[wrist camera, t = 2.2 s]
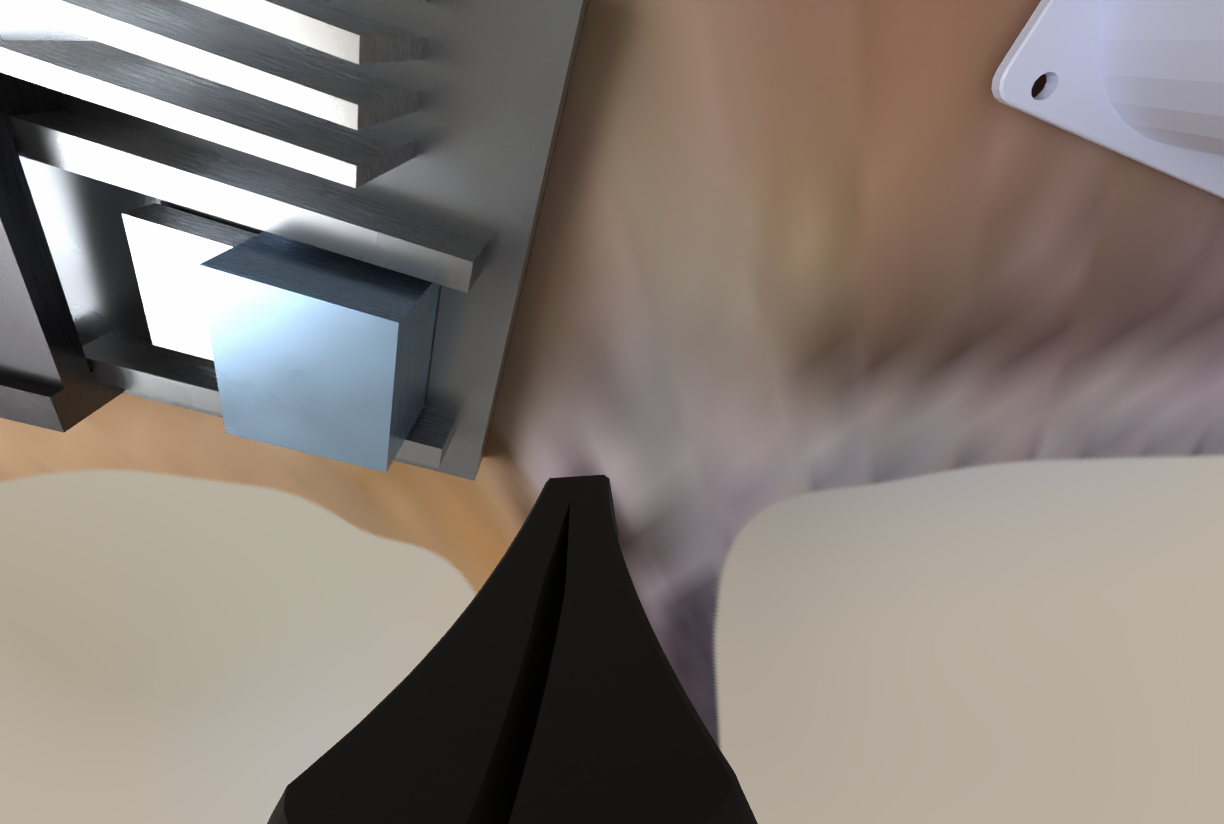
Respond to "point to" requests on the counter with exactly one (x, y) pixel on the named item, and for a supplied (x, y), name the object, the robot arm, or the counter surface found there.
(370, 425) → the blue-grey rectangular block
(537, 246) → the counter surface
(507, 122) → the heatsink base
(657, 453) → the counter surface
